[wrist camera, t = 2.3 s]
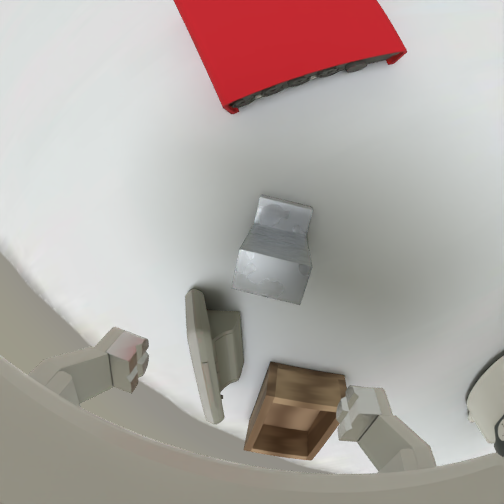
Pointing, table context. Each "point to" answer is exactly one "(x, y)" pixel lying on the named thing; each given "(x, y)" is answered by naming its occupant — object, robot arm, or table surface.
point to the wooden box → (294, 412)
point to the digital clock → (213, 351)
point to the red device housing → (285, 42)
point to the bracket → (276, 252)
